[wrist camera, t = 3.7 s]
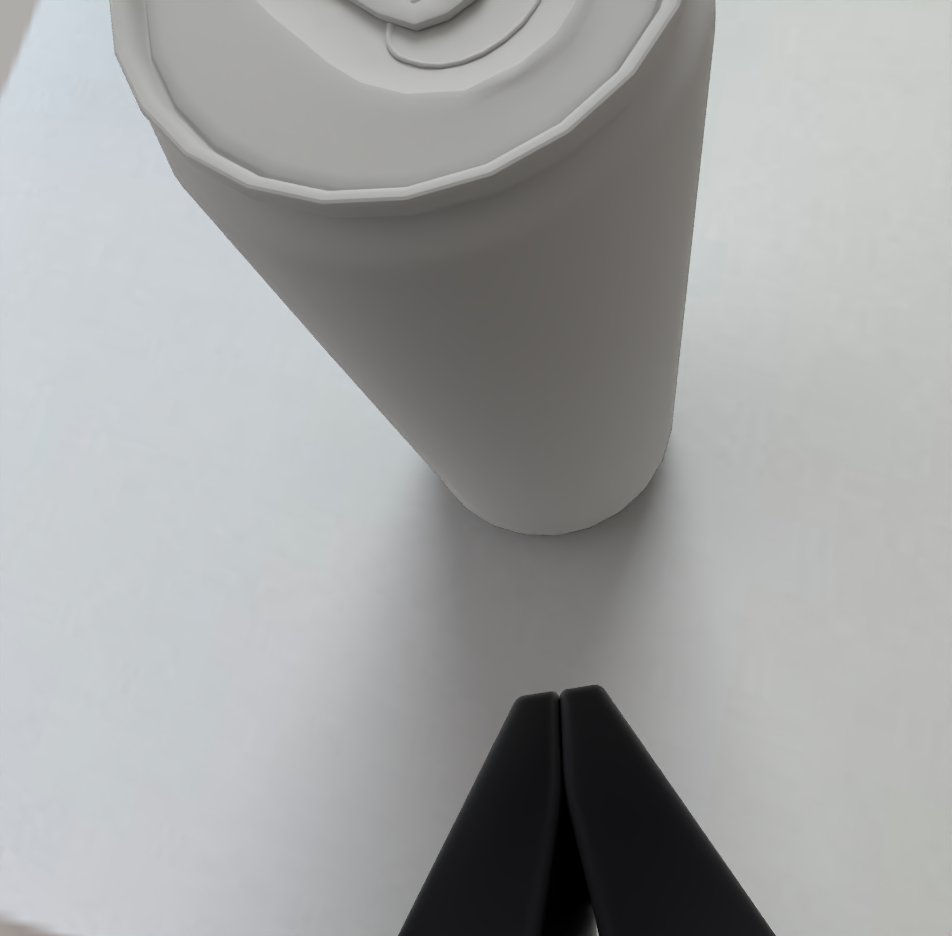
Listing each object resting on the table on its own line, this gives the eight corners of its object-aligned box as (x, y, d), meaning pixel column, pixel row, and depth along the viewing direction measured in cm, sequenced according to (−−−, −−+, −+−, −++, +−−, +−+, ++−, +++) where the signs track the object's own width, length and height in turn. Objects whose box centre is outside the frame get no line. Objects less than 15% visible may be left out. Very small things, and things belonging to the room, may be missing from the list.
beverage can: (565, 592, 17) (414, 357, 6) (383, 442, 19) (-26, 17, 7) (722, 401, 18) (873, -174, 6) (533, 269, 19) (371, -395, 8)
